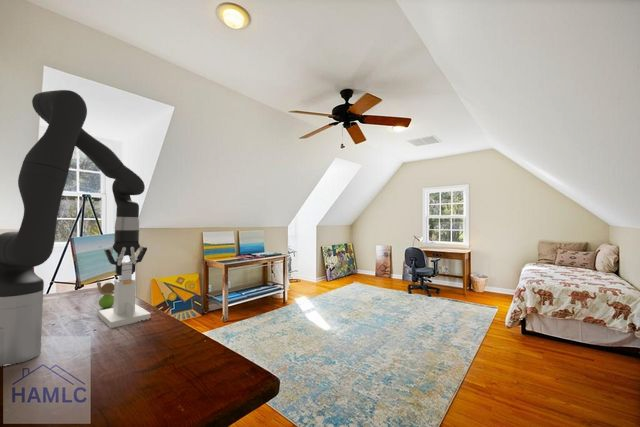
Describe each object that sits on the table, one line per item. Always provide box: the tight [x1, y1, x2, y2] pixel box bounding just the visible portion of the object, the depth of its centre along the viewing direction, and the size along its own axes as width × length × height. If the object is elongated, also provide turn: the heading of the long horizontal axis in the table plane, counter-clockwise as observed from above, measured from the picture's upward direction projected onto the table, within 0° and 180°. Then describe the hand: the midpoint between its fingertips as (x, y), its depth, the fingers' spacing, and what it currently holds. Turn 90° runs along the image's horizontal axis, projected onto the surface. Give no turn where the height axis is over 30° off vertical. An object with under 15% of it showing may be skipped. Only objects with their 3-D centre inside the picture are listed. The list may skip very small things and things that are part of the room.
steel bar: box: [118, 260, 133, 281], centre depth 102 cm, size 3×3×17 cm
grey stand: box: [97, 277, 152, 329], centre depth 102 cm, size 18×12×14 cm, turn 50°
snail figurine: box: [96, 279, 114, 309], centre depth 112 cm, size 5×6×12 cm
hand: (125, 274), depth 102 cm, fingers closed on steel bar, 3 cm apart
